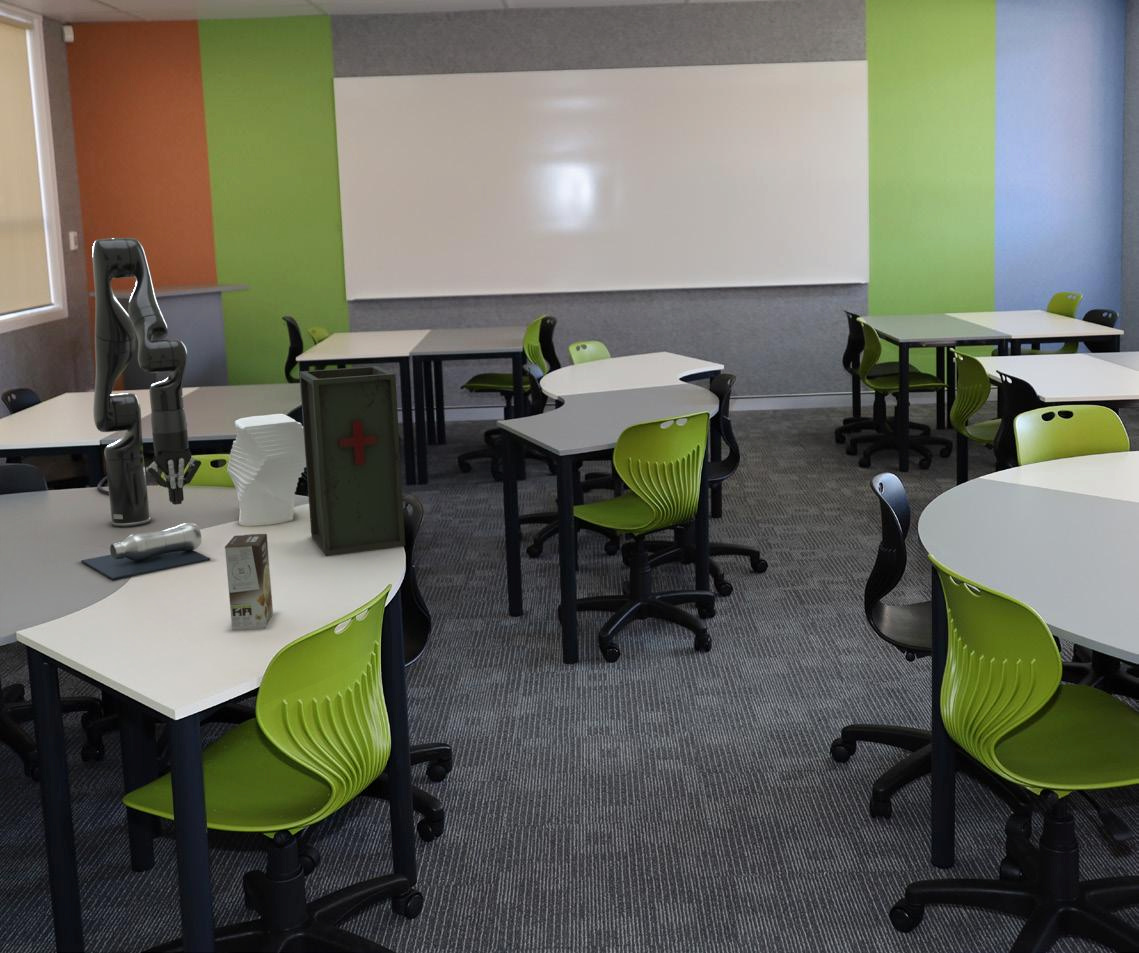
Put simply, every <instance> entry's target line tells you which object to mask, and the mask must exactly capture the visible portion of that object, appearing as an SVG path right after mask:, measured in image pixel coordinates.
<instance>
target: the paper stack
mask: <svg viewBox="0 0 1139 953" xmlns="http://www.w3.org/2000/svg"><path fill="white" fill-rule="evenodd" d="M233 423H234V427H235V431H236V437H235V440H233V442H232V445H231V449H230V453H229V457H228V464H227V468H226V472H227V474H228V475H229V478H230V479H231V481H232V483H233V485H234V488H235V491H236V495H237V500H238V507H239V515H238V517H239V518H238V522H239V525H240V526H246V527H251V526H252V527H255V526H269V525H276V524H284V523H286V522H292V521H293V520H294V508H295V501H294V497H295V496H296V495H295V494H296V493H297V488H298V483H299V478H302V473H305V468H306V456H305V443H304V429H303V423H301V422H298V421H296V420H295V418H292V417H291V416H288V415H286V414H285V413H274V414H273V413H272V414H266V415H254V416H247V417H241V418H238V419H236V420H235V421H234V422H233Z"/></svg>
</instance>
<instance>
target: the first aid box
mask: <svg viewBox="0 0 1139 953" xmlns="http://www.w3.org/2000/svg"><path fill="white" fill-rule="evenodd" d="M298 373H299V374H298V376H299V386H300V387H299V388H300V401H301V403H300V404H301V415H302V426H303V429H304V443H305V456H306V467H305V468H306V480H307V494H308V496H307V497H308V508H309V521H310V523H309V524H310V536H311V539H312V540H313V541H314V543H315V544H316V545H317V547H318V548H319V549H320V550H321V552H322V553H323V554H324V556H325V557H329V556H335V555H344V554H353V553H361V552H368V551H377V550H385V549H393V548H400V547H406V533H405V515H404V514H405V513H404V499H403V498H404V497H403V481H402V466H401V448H400V431H399V429H400V428H399V414H398V397H397V396H398V395H397V380H396V373H394V372H392V371H389V370H387V369H385V368H382V367H380V366H378V365H376V366H375V365H374V366H361V367H360V366H359V367H345V368H332V369H330V368H329V369H318V370H304V371H298Z"/></svg>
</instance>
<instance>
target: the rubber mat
mask: <svg viewBox="0 0 1139 953" xmlns="http://www.w3.org/2000/svg"><path fill="white" fill-rule="evenodd" d="M210 561H211V557H209V556H206V555H204V554H202V553H200V552H197V551H195V550H192V551H177V552H169V553H165V554H161V555H157V556H153V557H151V558H148V559H145V560H142V561H133V560H130V559H128V558H126V557H124V558H123V559H116V560H114V559H113V558H112V556H111V554H107V555H101V556H96V557H91V558H85V559H81V560H80V563H81V564H83V565H84V566H86V567H88V568H90V569H92V571H93V570H94V571H95V572H97V573H99V574H101V575H102V576H104V577H106V578H107V579H109V580H110V581H118V580H122V579H123V580H124V579H128V578H133V577H138V576H142V575H146V574H147V575H148V574H152V573H156V572H162V571H166V570H171V569H176V568H182V567H185V566H186V567H187V566H191V565H197V564H200V563H206V562H210Z"/></svg>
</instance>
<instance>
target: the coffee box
mask: <svg viewBox="0 0 1139 953" xmlns="http://www.w3.org/2000/svg"><path fill="white" fill-rule="evenodd" d="M268 544H269V543H268V534H267V533H251V534H250V533H249V534H240V535H238V534H237V535H234V536H233V537H232V538H231V539H230V540H229V541H228V542H227V543H226V545H224V551H225V552H224V553H225V562H226V573H227V574H226V575H227V584H228V585H227V587H228V598H229V605H230V606H229V608H230V609H229V610H230V621H231V630H232V631H238V630H239V631H240V630H241V631H242V630H257V629H265V628H266V627H267V625H268V624H269V622H270V620H271V618H272V616H273V615H274V607H273V595H272V582H271V571H270V570H271V569H270V557H269V546H268Z"/></svg>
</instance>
